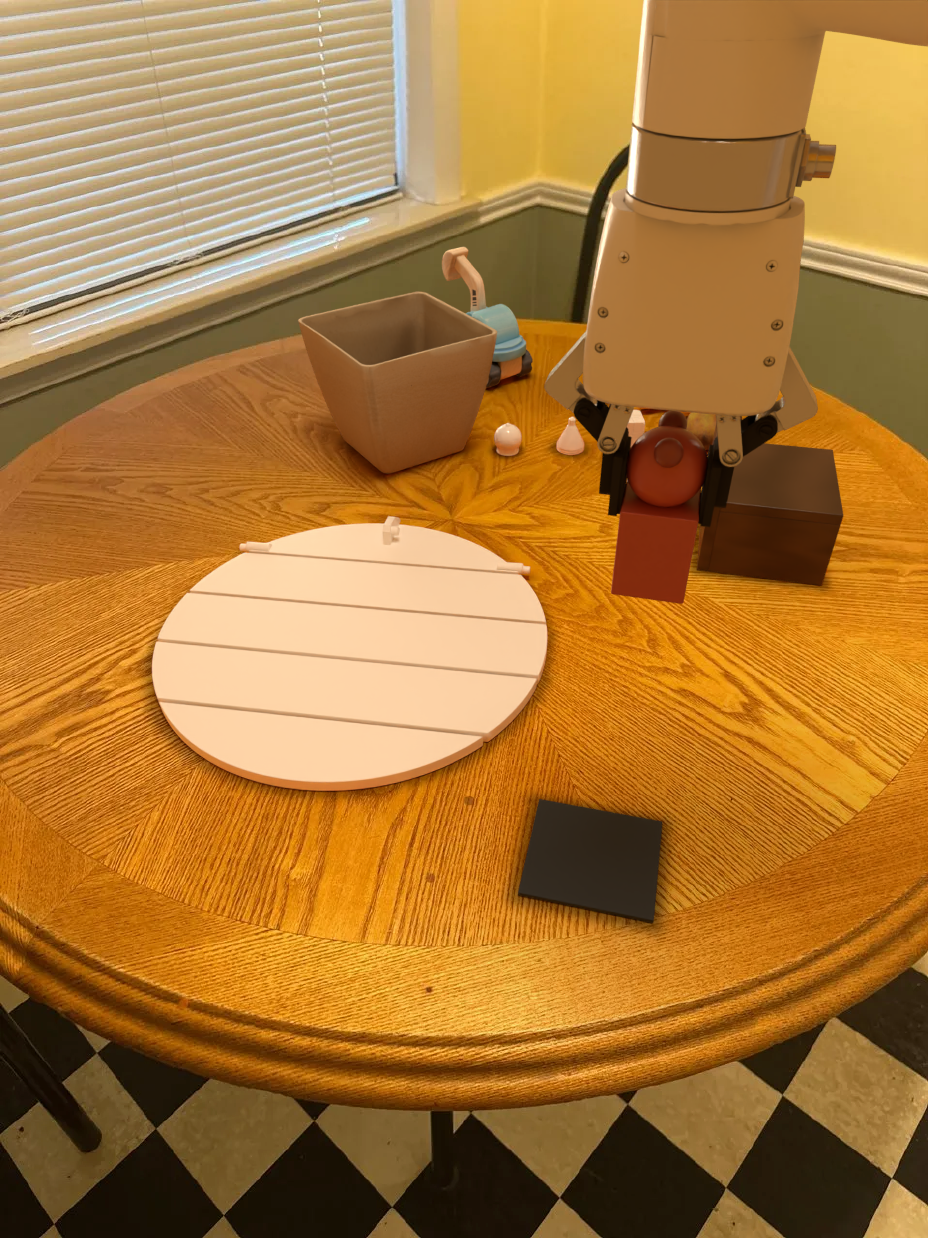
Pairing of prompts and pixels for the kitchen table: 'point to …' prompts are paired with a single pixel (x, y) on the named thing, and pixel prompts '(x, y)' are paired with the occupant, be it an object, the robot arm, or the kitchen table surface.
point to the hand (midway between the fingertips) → (660, 506)
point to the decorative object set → (569, 440)
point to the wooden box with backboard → (776, 517)
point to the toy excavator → (490, 320)
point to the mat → (593, 860)
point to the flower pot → (401, 376)
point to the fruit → (702, 427)
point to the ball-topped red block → (660, 512)
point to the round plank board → (350, 656)
